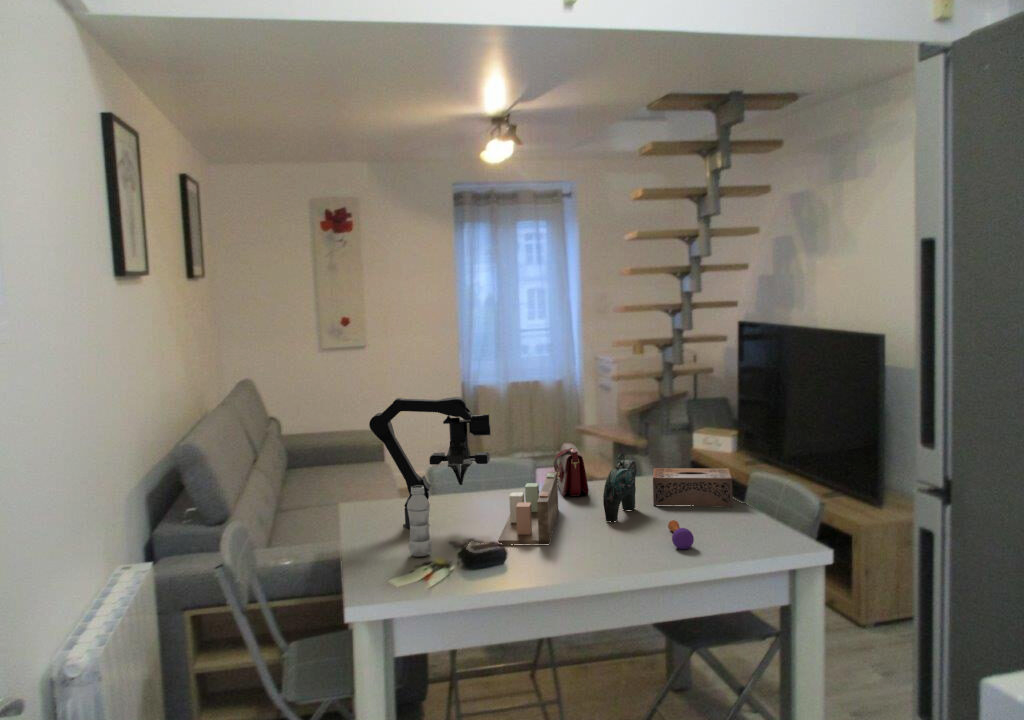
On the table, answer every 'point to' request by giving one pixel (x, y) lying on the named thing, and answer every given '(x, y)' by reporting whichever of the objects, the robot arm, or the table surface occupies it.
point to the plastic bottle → (419, 522)
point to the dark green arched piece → (620, 489)
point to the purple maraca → (680, 535)
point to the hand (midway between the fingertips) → (461, 484)
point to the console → (537, 517)
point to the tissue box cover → (692, 487)
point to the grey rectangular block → (515, 504)
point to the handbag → (571, 470)
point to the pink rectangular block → (524, 518)
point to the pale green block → (532, 495)
